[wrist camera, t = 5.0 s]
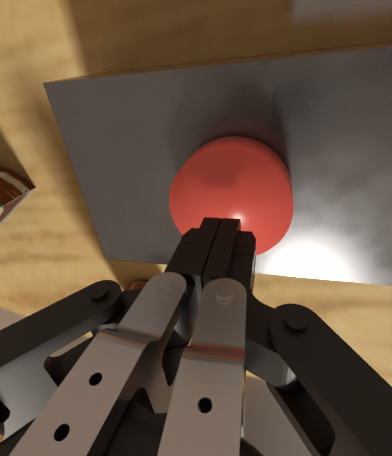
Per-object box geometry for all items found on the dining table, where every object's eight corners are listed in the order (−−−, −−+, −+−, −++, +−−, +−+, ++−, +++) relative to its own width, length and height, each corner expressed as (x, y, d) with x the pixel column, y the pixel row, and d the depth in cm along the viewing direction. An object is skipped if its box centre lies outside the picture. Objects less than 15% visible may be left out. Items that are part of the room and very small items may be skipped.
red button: (293, 111, 16) (300, 147, 11) (285, 200, 20) (287, 263, 14) (196, 116, 18) (159, 150, 12) (204, 198, 21) (177, 254, 16)
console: (441, 36, 14) (525, 33, 9) (379, 230, 21) (410, 287, 16) (101, 72, 19) (42, 82, 14) (138, 218, 26) (105, 258, 21)
